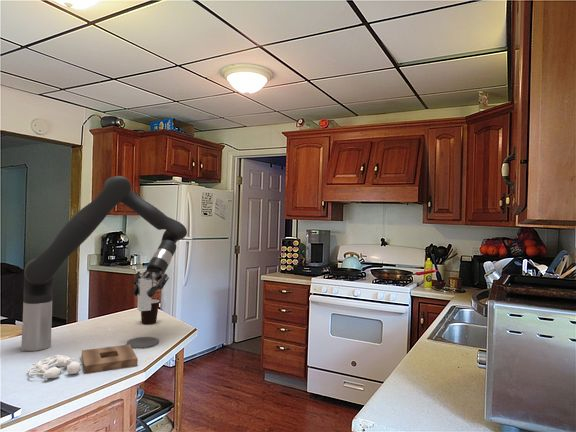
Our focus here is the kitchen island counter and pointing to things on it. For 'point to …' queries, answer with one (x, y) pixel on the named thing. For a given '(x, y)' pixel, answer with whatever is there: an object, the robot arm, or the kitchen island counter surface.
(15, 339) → the kitchen island counter surface
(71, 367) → the tangled rod sculpture
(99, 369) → the socket block
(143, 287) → the steel peg
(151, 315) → the coffee mug
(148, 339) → the rubber pad
